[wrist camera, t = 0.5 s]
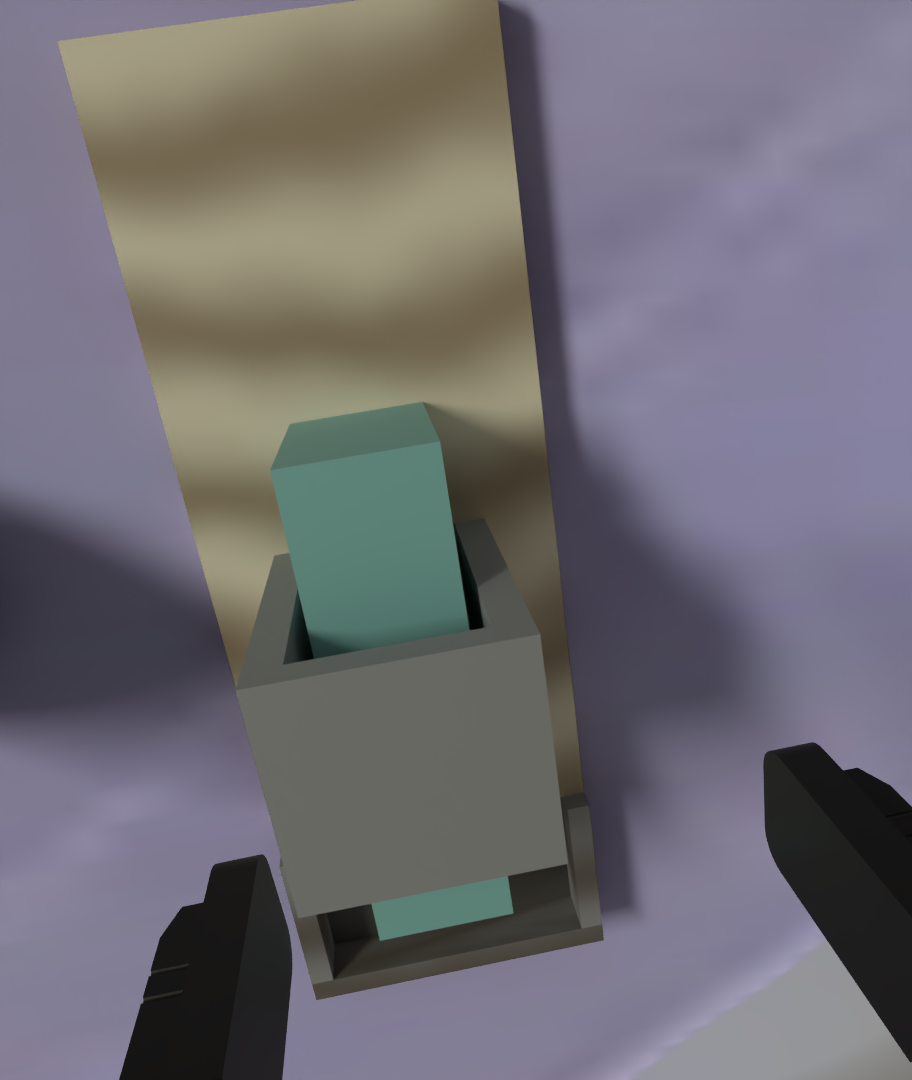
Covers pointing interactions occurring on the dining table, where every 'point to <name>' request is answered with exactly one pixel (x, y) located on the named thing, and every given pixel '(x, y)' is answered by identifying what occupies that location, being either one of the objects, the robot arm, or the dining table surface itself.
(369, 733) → the tunnel
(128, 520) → the dining table surface
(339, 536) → the teal pillar
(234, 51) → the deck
